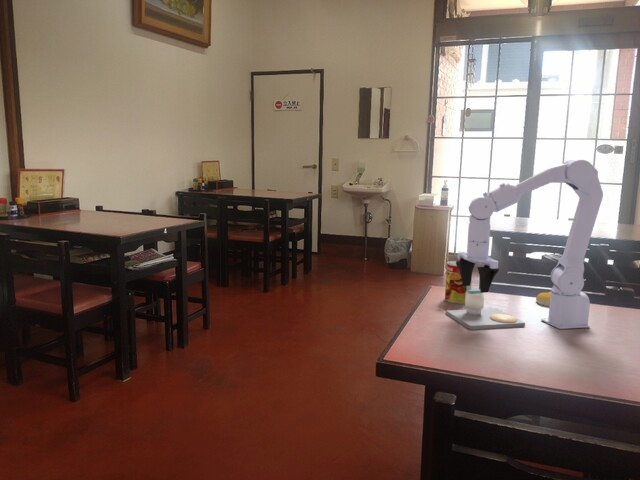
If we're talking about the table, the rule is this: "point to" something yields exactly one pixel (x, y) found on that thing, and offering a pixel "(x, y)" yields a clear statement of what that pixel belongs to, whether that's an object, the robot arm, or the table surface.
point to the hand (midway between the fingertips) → (475, 288)
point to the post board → (484, 318)
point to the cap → (474, 299)
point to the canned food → (455, 284)
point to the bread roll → (543, 299)
